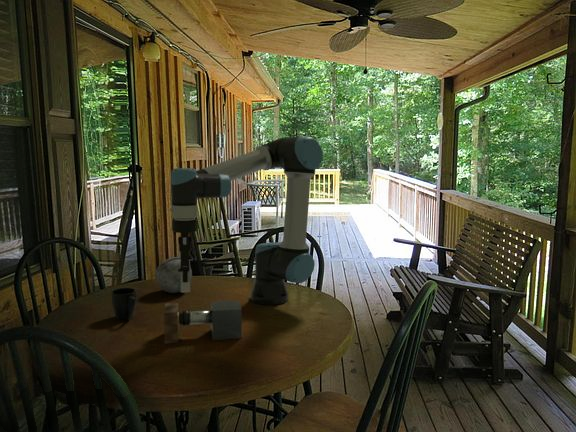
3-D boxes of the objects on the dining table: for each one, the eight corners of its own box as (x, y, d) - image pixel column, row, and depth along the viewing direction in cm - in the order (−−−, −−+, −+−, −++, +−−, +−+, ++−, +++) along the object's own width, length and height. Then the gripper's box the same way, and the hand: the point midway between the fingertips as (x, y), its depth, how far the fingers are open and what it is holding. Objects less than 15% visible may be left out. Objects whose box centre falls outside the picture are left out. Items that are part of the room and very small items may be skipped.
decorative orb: (181, 285, 198) (181, 252, 196) (198, 292, 187) (198, 258, 185) (150, 291, 188) (149, 256, 186) (166, 300, 177) (165, 263, 175)
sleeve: (238, 327, 150) (238, 300, 148) (241, 338, 141) (241, 309, 140) (211, 329, 148) (211, 301, 146) (212, 340, 139) (212, 310, 138)
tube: (217, 320, 146) (217, 306, 145) (218, 326, 141) (218, 311, 140) (173, 323, 143) (173, 309, 142) (172, 329, 138) (172, 314, 137)
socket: (178, 331, 146) (178, 302, 144) (178, 342, 137) (177, 312, 136) (166, 332, 145) (165, 303, 143) (164, 343, 136) (163, 313, 135)
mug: (121, 326, 149) (120, 298, 148) (108, 316, 158) (107, 290, 157) (144, 320, 155) (144, 294, 153) (131, 311, 164) (130, 286, 162)
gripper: (173, 213, 148) (174, 275, 151) (170, 225, 124) (171, 298, 127) (196, 213, 150) (197, 274, 152) (197, 224, 126) (198, 297, 128)
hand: (185, 285), depth 140 cm, fingers open, 13 cm apart
